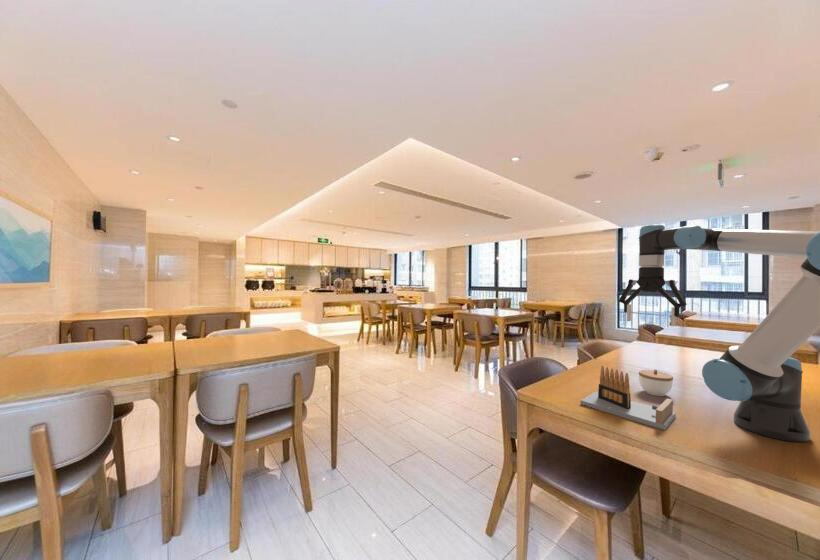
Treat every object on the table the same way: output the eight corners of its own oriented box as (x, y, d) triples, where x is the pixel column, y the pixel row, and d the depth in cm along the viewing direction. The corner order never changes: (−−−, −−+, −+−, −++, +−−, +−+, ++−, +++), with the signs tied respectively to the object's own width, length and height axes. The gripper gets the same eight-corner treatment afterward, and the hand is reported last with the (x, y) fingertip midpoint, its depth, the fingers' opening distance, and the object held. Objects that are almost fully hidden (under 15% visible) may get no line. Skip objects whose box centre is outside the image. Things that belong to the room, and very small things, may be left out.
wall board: (675, 417, 103) (675, 400, 103) (664, 430, 94) (665, 412, 94) (595, 395, 121) (595, 381, 121) (580, 404, 112) (580, 389, 112)
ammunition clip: (630, 408, 106) (631, 373, 105) (627, 409, 105) (627, 373, 105) (601, 396, 116) (602, 364, 115) (597, 397, 115) (598, 365, 115)
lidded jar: (660, 389, 129) (660, 366, 128) (679, 399, 118) (680, 374, 118) (632, 387, 130) (632, 365, 130) (649, 397, 119) (650, 373, 119)
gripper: (697, 266, 110) (696, 326, 110) (616, 267, 129) (615, 318, 130) (693, 266, 105) (692, 328, 106) (610, 267, 125) (609, 320, 125)
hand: (650, 323), depth 118 cm, fingers open, 13 cm apart
